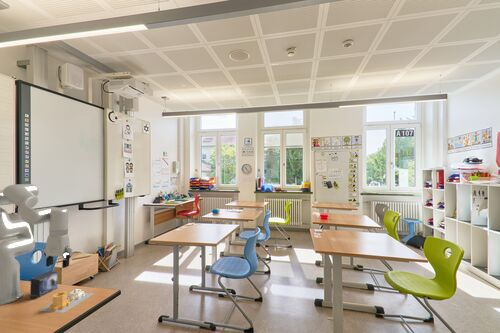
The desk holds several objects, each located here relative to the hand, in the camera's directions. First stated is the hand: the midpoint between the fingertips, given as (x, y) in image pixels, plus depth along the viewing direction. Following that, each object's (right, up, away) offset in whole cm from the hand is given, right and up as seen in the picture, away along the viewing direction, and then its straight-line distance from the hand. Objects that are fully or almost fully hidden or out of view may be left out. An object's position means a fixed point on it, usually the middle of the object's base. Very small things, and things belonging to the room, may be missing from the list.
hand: (57, 266), depth 121 cm
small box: (-18, -21, +13) cm, 31 cm away
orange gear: (+4, -19, -3) cm, 19 cm away
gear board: (+5, -20, +1) cm, 21 cm away
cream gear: (+5, -19, +6) cm, 21 cm away
